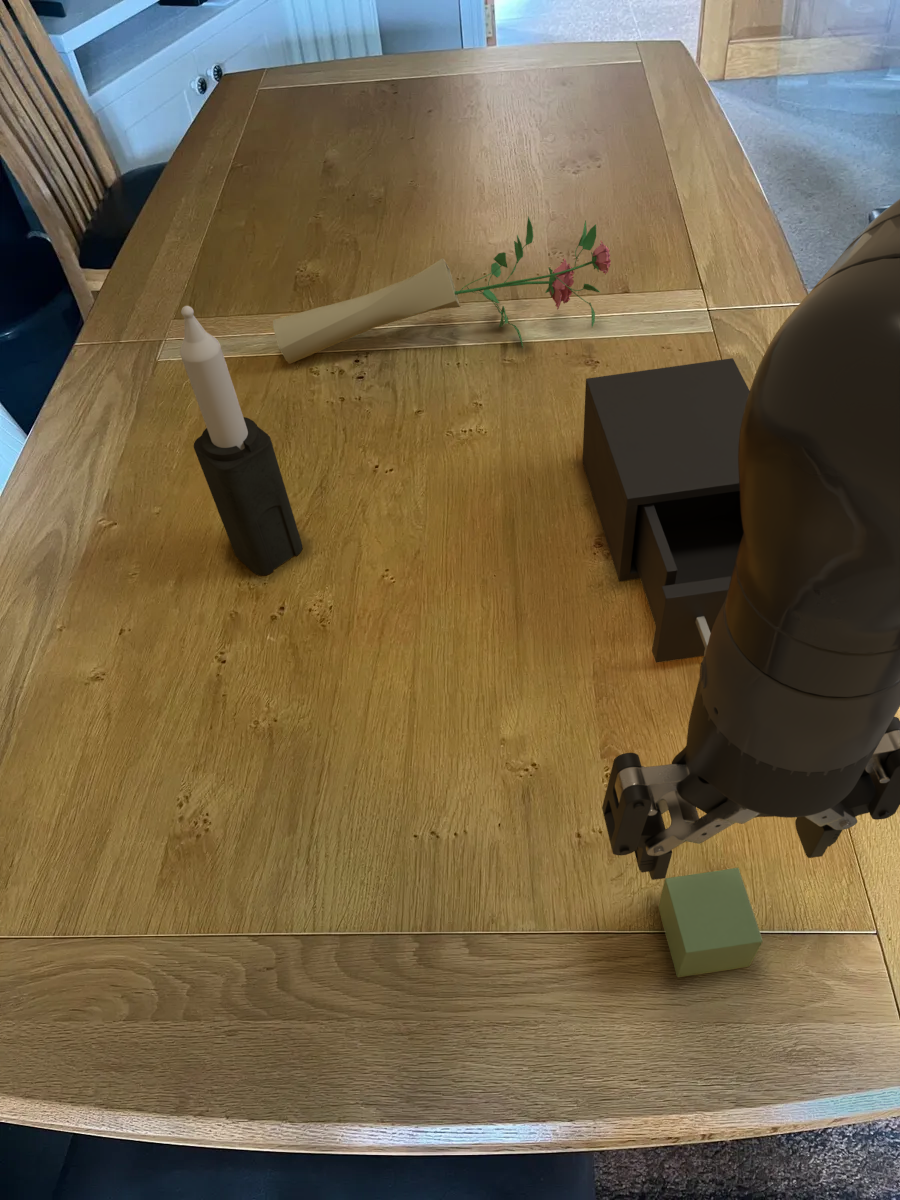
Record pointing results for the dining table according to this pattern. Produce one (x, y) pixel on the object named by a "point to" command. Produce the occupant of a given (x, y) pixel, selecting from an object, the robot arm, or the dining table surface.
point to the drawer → (686, 567)
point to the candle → (237, 460)
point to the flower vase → (419, 301)
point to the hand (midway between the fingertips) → (730, 851)
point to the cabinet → (659, 443)
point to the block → (709, 922)
